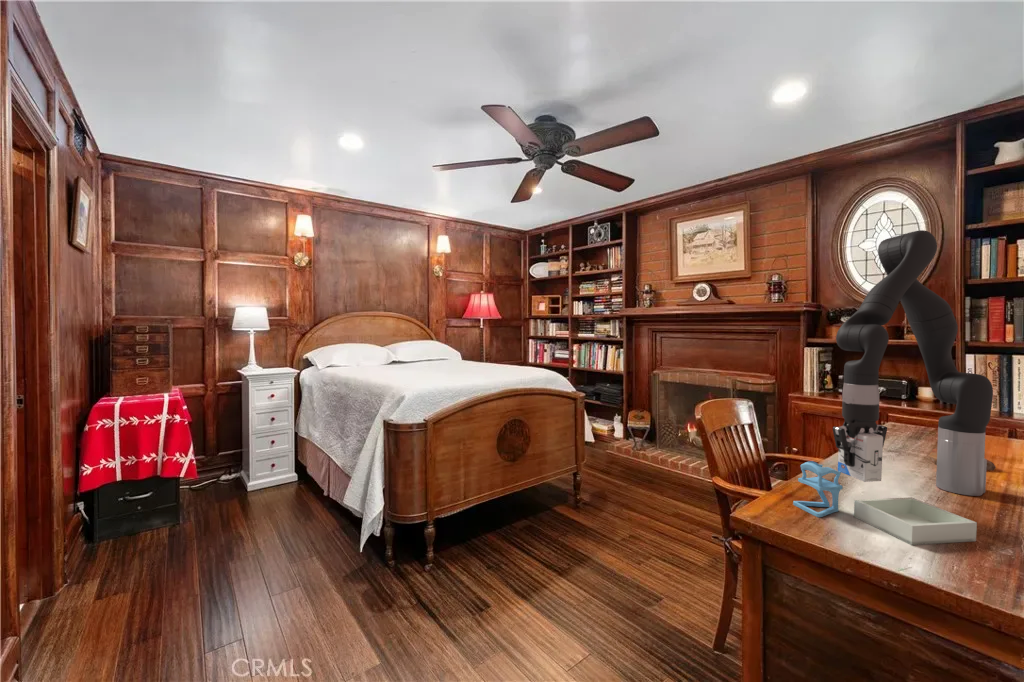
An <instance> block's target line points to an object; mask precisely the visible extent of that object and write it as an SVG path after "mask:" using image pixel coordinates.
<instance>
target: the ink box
mask: <svg viewBox="0 0 1024 682" xmlns="http://www.w3.org/2000/svg"><path fill="white" fill-rule="evenodd" d="M848 439H850V440H854V438H851V437H849V436H848ZM841 444H842V443H841ZM850 445H851V443H849V447H850ZM883 448H884V446H883V436H881V435H878V434H874V433H872V434H869V433H864V434H859V435H858V439H857V444H856V445H855V451H854V452H853V453H855V466H854V467H850V466H847V465H846V464H845V463H844V451H843V450H842V449H839V448H838V455H837V458H838V459H837V471H840V472H841V474H844V475H847V476H849V477H852V478H854V479H857V480H859V481H861V482H864V483H870V482H882V477H883V476H882V473H883V472H882V470H883V450H884V449H883Z"/></svg>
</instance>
